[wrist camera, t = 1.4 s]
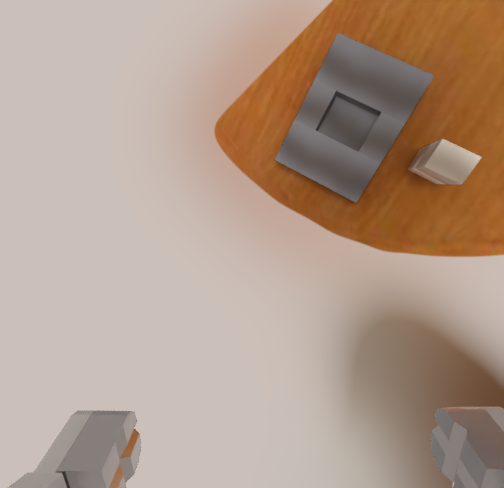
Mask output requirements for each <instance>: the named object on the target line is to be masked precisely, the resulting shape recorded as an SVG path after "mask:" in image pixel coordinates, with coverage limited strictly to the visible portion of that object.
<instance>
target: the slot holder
mask: <svg viewBox="0 0 504 488" xmlns="http://www.w3.org/2000/svg"><path fill="white" fill-rule="evenodd" d="M434 76H435V75H432V74H430V73H428V72H426V71H423V70H421V69H419V68H416V67H414V66H412V65H410V64H407V63H405V62H403V61H401V60H398V59H396V58H394V57H391V56H389V55H387V54H385V53H382V52H380V51H378V50H376V49H373V48H371V47H369V46H366V45H364V44H362V43H360V42H357V41H355V40H353V39H351V38H348V37H346V36H344V35H341V34H339V33H337V35H336V37H335V39H334V41H333V43H332V45H331V47H330V49H329V51H328V53H327V55H326V57H325V60H324V62H323V64H322V66H321V68H320V70H319V72H318V74H317V76H316V78H315V80H314V82H313V84H312V86H311V88H310V90H309V92H308V94H307V96H306V98H305V100H304V102H303V104H302V106H301V108H300V110H299V112H298V114H297V116H296V118H295V120H294V122H293V124H292V126H291V128H290V130H289V132H288V134H287V136H286V138H285V140H284V142H283V144H282V146H281V148H280V150H279V152H278V154H277V156H276V158H275V160H276V161H278V162H280V163H281V164H283V165H285V166H287V167H289V168H291V169H293V170H295V171H297V172H298V173H300V174H302V175H304V176H306V177H308V178H310V179H312V180H314V181H316V182H317V183H319V184H321V185H323V186H325V187H327V188H329V189H331V190H333V191H334V192H336V193H338V194H340V195H342V196H344V197H346V198H348V199H350V200H351V201H353V202H355V203H357V201H358V199H359V198H360V196H361V195H362V193H363V191H364V190H365V188H366V186H367V185H368V183H369V181H370V180H371V178H372V177H373V175H374V173H375V172H376V170H377V168H378V167H379V165H380V164H381V162H382V160H383V159H384V157H385V155H386V154H387V152H388V151H389V149H390V147H391V146H392V144H393V142H394V141H395V139H396V137H397V136H398V134H399V133H400V131H401V129H402V128H403V126H404V124H405V123H406V121H407V120H408V118H409V116H410V115H411V113H412V111H413V110H414V108H415V107H416V105H417V103H418V102H419V100H420V98H421V97H422V95H423V93H424V92H425V90H426V89H427V87H428V85H429V84H430V82H431V80H432V79H433V77H434Z"/></svg>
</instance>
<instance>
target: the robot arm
mask: <svg viewBox="0 0 504 488" xmlns="http://www.w3.org/2000/svg"><path fill="white" fill-rule="evenodd" d="M435 419H436V421H437V423H438V424H439V425H438V426H437V427H436V428H435V429H434V430H432V433H431V440H430V442H431V448H432V453H433V456H434V459H435V461H436V463H437V465H438V467H439V469H440V471H441V473H443V474H444V475H445V476H446V477H448V478H449V479H450V480H451V481H452V482H453V485H452V488H504V409H503V408H501V407H445V408H439V409H438V410H437V411H436V415H435ZM136 422H137V420H136V416H135V412H132V411H77V412H76V413H74V414H73V415H72V416H71V417H70V419H69V420H68V422H67V423H66V425H65V426H64V428H63V429H62V431H61V432H60V434H59V435H58V437H57V438H56V440H55V441H54V443H53V444H52V446H51V447H50V449H49V450H48V452H47V453H46V455H45V456H44V458H43V459H42V461H41V462H40V464H39V465H38V467H37V468H36V470H35V471H34V473H27V474H25V475H24V476H22V477H21V478H20V479H19V480H17V481H16V482H15V483H13V484H12V485H11V486H9V487H8V488H126V485H125V483H126V482H127V480H129V479H130V478H131V477H132V476H133V475H134V473H135V470H136V468H137V465H138V461H139V456H140V451H141V439H140V434H139V433H138V432H137V431H136V430H135V429H134V427H135V425H136Z"/></svg>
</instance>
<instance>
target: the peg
mask: <svg viewBox="0 0 504 488" xmlns="http://www.w3.org/2000/svg"><path fill="white" fill-rule="evenodd" d="M481 158H482V157H481V156H478V155H476V154H474V153H472V152H470V151H468V150H466V149H464V148H462V147H459V146H457V145H455V144H453V143H451V142H449V141H447V140H445V139H441V140H438V141H436V142H434V143H431V144H429V145H427V146H424V147H422V148H421V149H420V150H419V152H418V153H417V155H416V156H415V158H414V159H413V161H412V162H411V164H410V166H409V167H408V169H407V170H408V171H410V172H412V173H414V174H416V175H418V176H420V177H422V178H425V179H427V180H429V181H431V182H433V183H435V184H446V185H462V184H463V183H464V181H465V180H466V178H467V177H468V176H469V174H470V173H471V171H472V170H473V169H474V167H475V166H476V164H477V163H478V162H479V160H480V159H481Z"/></svg>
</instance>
